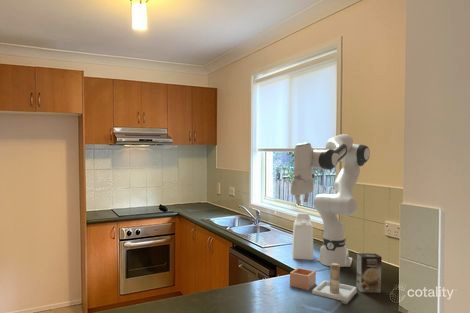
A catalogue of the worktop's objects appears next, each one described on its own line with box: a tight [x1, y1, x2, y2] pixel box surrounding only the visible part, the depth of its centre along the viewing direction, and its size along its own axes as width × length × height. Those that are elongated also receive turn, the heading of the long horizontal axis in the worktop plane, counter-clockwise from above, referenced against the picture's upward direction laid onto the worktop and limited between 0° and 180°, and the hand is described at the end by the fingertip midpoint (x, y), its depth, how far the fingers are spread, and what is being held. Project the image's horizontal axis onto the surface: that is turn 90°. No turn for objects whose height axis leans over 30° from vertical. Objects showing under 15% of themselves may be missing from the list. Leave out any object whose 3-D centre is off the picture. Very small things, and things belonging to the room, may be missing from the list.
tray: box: [311, 279, 358, 305], centre depth 160 cm, size 15×15×2 cm
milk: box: [291, 212, 315, 261], centre depth 218 cm, size 12×12×26 cm
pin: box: [329, 263, 341, 294], centre depth 160 cm, size 4×4×12 cm
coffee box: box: [355, 252, 383, 293], centre depth 166 cm, size 9×6×16 cm
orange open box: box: [289, 267, 317, 291], centre depth 168 cm, size 9×9×7 cm
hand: (302, 203), depth 181 cm, fingers open, 8 cm apart
